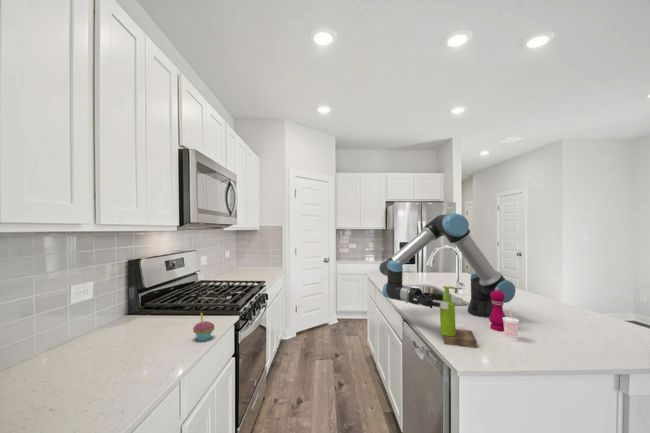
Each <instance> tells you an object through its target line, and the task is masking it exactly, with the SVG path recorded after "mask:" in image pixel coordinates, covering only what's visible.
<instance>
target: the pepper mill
mask: <svg viewBox="0 0 650 433" xmlns="http://www.w3.org/2000/svg"><path fill="white" fill-rule="evenodd" d="M495 290H496V291H492V292H491V294H490V297H491V298H492V304H493V309H492V312H491V314H490V317H488V319H489V322H490V329H491V328H492V329H491V330H493V329H494V330H493V331H495V330H497V331H496V332H504V322H503V317H506V315H505V313H504V310H503V305H504V304H505V303H504V302H503V300H504V299H505V296H504V294H503V293H502V292H501V291H499V288H498V287H497V288H495Z"/></svg>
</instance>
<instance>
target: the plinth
mask: <svg viewBox="0 0 650 433" xmlns="http://www.w3.org/2000/svg"><path fill="white" fill-rule="evenodd" d="M442 340H443V344H444V345H447V346H458V347H464V348H471V349H473V348H474V349H477V340H476V337H475V335H474V333H473V331H472V330H467V329H456V335H455V336H445V335H442Z"/></svg>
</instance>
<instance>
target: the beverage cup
mask: <svg viewBox="0 0 650 433" xmlns="http://www.w3.org/2000/svg"><path fill="white" fill-rule="evenodd" d="M503 322H504V331H503V332H504V334H503V335H504V340H505V341H508V342H510V341H511V342H510V343H517V342H518V338H519V337H518V336H519V322H520V319H518V318H515V317H512V307H510V306H509V316H505V317H503Z"/></svg>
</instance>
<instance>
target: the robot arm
mask: <svg viewBox="0 0 650 433" xmlns="http://www.w3.org/2000/svg"><path fill="white" fill-rule="evenodd" d="M469 226H470V225H469V221H468V219H467V218H466V217H465V216H464V215H463V214H460V213H454V212H453V213H449V214H439V215H437V216H436V217H434V218H433V219H431V221H429V222H428V223H427V224H426V225H424V226H423V228H422V230H421V231H419V233H418V234H417V235H415V236H414V237H413V238H412V239H411V240H410V241H409V242H407V243H406V244H405V245H404V246H403V247H401V248H400V249H399V250H398V251H396V253H394V254H393V255H392V256H390V258H388V259H387V260H386V261H385V260H384V261H382V262H381V263H379V266H378V269H379V270H378V271H379V272H380V273H381V274H382V275H383V276H386V277H387V281H386V282H387V283H386V282H385V284H383V286H382V295H383V296H384V297H385V298H388V299H390V300H396V301H399V302H400V301H401V302H405V304H408V303H410V304H414V305H422V306H424V307H427V308H428V307H429V308H430V309H433V308H434V307H435V308H438V309H440V308H443V309H447V310H448V309H449V307H448V303H447V302H442V301H443V294H444V293H437V292H436V293H435V292H428V291H427V292H423V291H422V289H421V288H418V287H412V286H409V285H408V286H407V285H403V270H404V267H403V265H405V264H406V263H407V262H408V261H410V260H411V259H412V258H413V257H414V256H417V254H418V253H419V252H420V251H422V249H424V248H425V247H427V246H428V245H429V244H430V243H432V241H434V242H435V241H437V240H438V239H439V238H441V237H443V236H445V238H446V239H447V241H448V242H449V243H450V244H454V245H455V246H456V248H457V249H458V251H459V252H460V253H461V255H462V256H463V258H464V259H465V260H466V262H467V263H468V264H469V265H470V267H471V269H472V270H473V272H474V273H471V275H470V301H469V304H468V307H467V312H469V313H468V314H470V313H471V314H470V315H472V314H474V315H473V316H476V315H478V316H477V317H481V316H485V317H484V318H489V317H490V314H491V312H492V309H493V304H492V298H491V297H490V294H491V292H492V291H496V290H495V288H497V287H498V288H499V291H501V292H502V293H503V294H504V296H505V299H504V300H503V302H504V303H503V304H506V303H509V302H511V301H512V300H513V299H514V297H515V295H516V290H517V289H516V286H515V284H514V283H513V282H511V281H510V280H507V279H506V278H505V277H504V276H503V274H502V273H501V272H500V271H497V270H495V269H494V267H493V266H492V264H491V263H490V261H489V260H488V259H487V257H486V256H485V255H484V252H482V250H481V249H480V247H478V245H477V243H476V242H475V241H474V240H473V238H472V237H471V235H470V234H471V230H470V228H469ZM451 302H453V303H455V304H458V305H462V304H463V298H462V297H459V296H454V295H451Z"/></svg>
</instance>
